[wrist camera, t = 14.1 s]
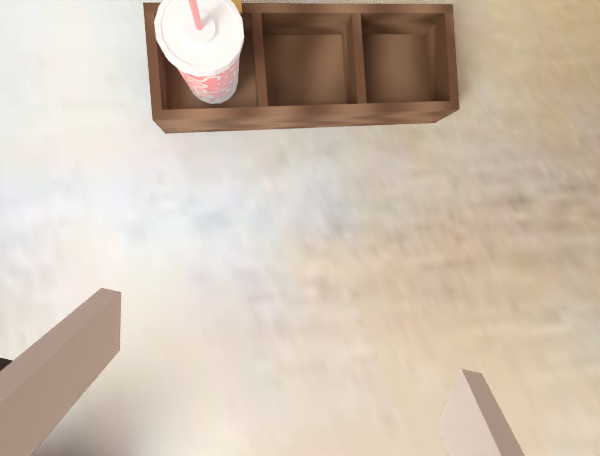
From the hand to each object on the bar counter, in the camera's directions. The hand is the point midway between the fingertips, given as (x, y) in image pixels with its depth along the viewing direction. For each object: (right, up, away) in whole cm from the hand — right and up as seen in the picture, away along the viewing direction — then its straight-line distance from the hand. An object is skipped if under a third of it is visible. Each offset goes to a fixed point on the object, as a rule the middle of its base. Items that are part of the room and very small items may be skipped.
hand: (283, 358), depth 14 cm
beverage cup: (-8, +19, +21) cm, 29 cm away
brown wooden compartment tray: (+1, +20, +22) cm, 30 cm away
